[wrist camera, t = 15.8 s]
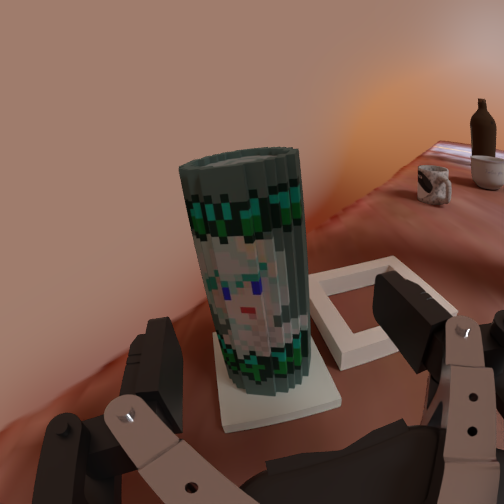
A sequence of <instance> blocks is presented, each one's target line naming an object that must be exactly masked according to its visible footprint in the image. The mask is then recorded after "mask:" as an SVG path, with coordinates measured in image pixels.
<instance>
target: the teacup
mask: <svg viewBox="0 0 504 504" xmlns="http://www.w3.org/2000/svg"><path fill="white" fill-rule="evenodd" d="M470 157H471V174H472V179H473V180H474V182H475V183H476V184H477V185H478V186H479V187H481V188H485V189H492V190H496V189H500V187H501V186H503V185H504V159H501V158H496V157H490V156H470Z"/></svg>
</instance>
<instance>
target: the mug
mask: <svg viewBox="0 0 504 504" xmlns="http://www.w3.org/2000/svg"><path fill="white" fill-rule="evenodd" d="M417 199H418V200H419V201H421V202H424V203H427V204H434V205H441V204H448V203H450V199H451V182H450V181H449V179H448V169H446V168H443V167H439V166H431V165H422V166H418V195H417Z"/></svg>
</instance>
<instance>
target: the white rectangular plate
mask: <svg viewBox="0 0 504 504" xmlns="http://www.w3.org/2000/svg"><path fill="white" fill-rule="evenodd" d="M213 344H214V355H215V365H216V375H217V385H218V394H219V403H220V412H221V420H222V427H223V429H224V431H225V433H230V432H236V431H242V430H248V429H253V428H258V427H263V426H268V425H273V424H277V423H281V422H286V421H290V420H294V419H298V418H302V417H306V416H309V415H313V414H317V413H320V412H324V411H327V410H330V409H334V408H337V407H340V406H341V399H342V398H341V396H340V394H339V392H338V390H337V388H336V386H335V384H334V381H333V379H332V377H331V375H330V373H329V371H328V369H327V367H326V365H325V363H324V361H323V359H322V357H321V355H320V353H319V351H318V349H317V347H316V345H315V343H314V341H313V339H312V337H311V361H310V368H309V376H303V378H302V384H301V385H299V384H296V385H295V389H291V388H289V391H288V393H283V392H276V396H263V395H253V394H247V393H246V389H239V388H237V386H236V384H233V381H232V379H229V376H228V372H227V369H226V365H225V362H224V358H223V355H222V351H221V348H220V344H219V340H218V337H217V333H216V332H213Z"/></svg>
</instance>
